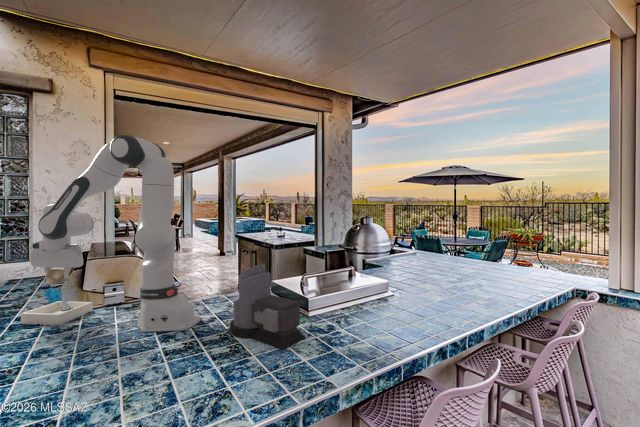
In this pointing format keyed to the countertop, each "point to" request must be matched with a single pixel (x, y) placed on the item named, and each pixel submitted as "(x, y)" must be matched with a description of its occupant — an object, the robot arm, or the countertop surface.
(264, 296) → the juicer
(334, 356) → the countertop surface
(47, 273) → the block
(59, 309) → the tray
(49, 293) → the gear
